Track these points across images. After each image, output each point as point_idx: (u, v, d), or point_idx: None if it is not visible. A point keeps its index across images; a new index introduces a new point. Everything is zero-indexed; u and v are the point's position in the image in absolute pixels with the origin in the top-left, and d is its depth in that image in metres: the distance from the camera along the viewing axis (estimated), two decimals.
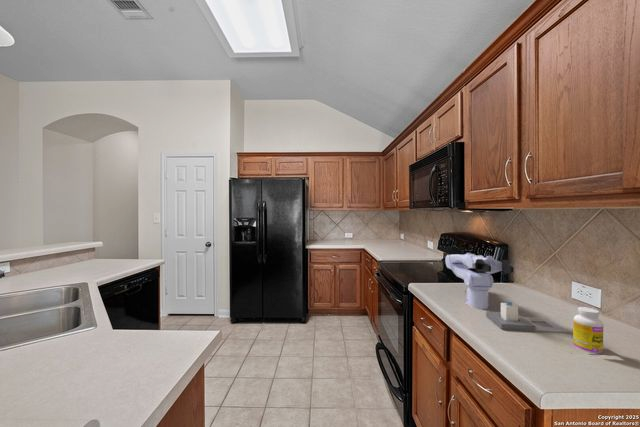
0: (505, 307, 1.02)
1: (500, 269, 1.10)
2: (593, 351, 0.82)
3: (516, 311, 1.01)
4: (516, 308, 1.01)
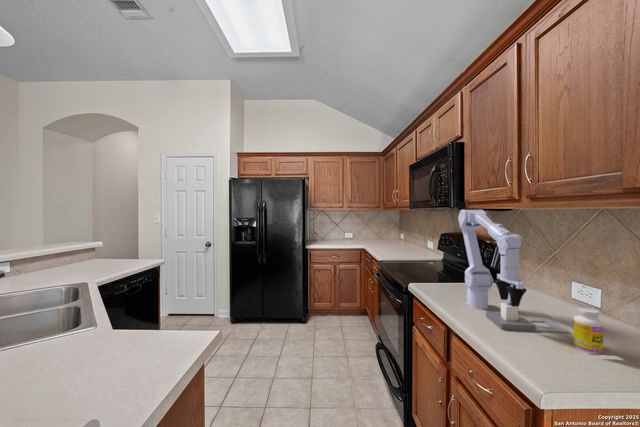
0: (505, 307, 1.02)
1: None
2: (593, 351, 0.82)
3: (516, 311, 1.01)
4: (516, 308, 1.01)
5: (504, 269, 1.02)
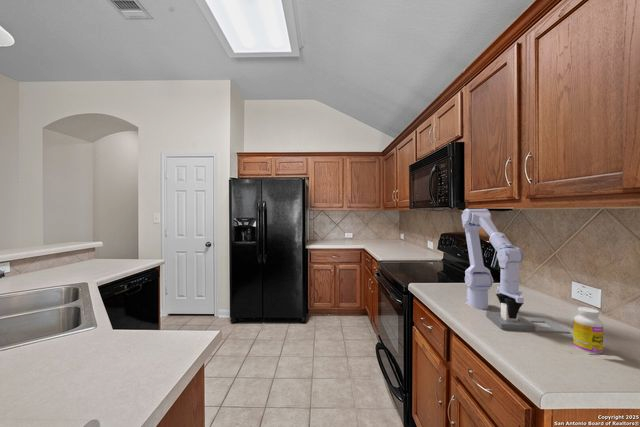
0: (505, 307, 1.02)
1: None
2: (593, 351, 0.82)
3: None
4: None
5: (504, 282, 1.02)
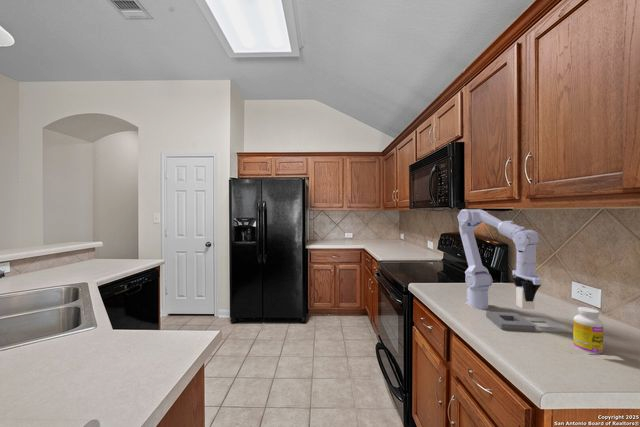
0: (521, 290, 1.01)
1: None
2: (593, 351, 0.82)
3: None
4: None
5: (520, 265, 1.01)
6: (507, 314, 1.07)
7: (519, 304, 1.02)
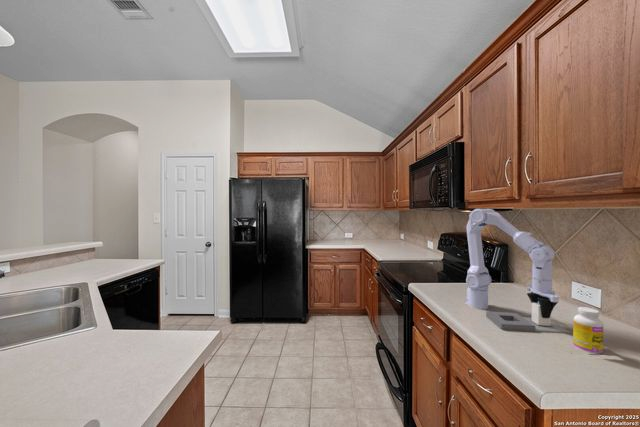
0: (537, 307, 1.00)
1: None
2: (593, 351, 0.82)
3: None
4: None
5: (537, 281, 1.00)
6: (507, 314, 1.07)
7: (535, 320, 1.02)
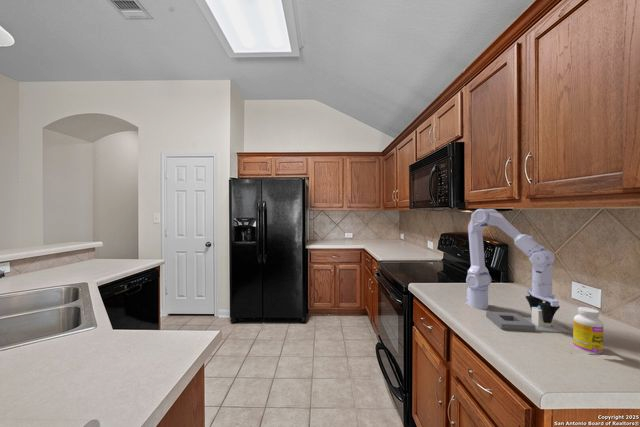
0: (537, 311, 1.00)
1: None
2: (593, 351, 0.82)
3: None
4: None
5: (537, 285, 1.00)
6: (507, 314, 1.07)
7: None
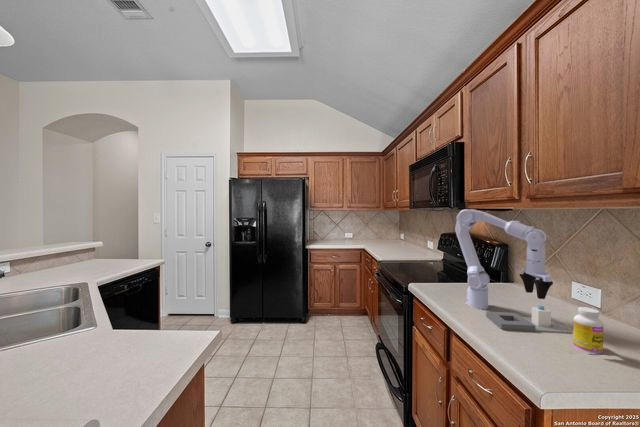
0: (537, 311, 1.00)
1: None
2: (593, 351, 0.82)
3: (549, 315, 0.99)
4: (548, 312, 0.99)
5: (530, 263, 1.06)
6: (507, 314, 1.07)
7: None
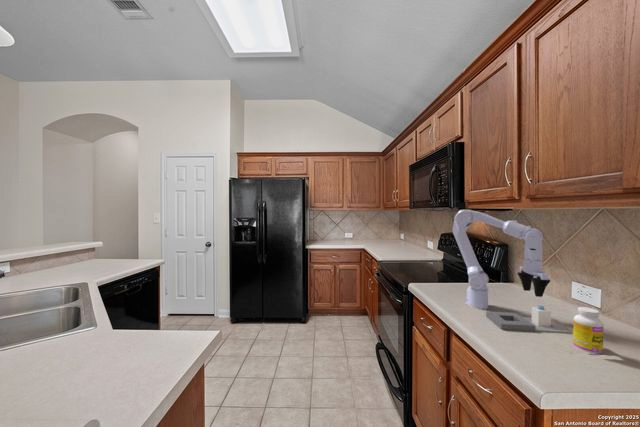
0: (537, 311, 1.00)
1: None
2: (593, 351, 0.82)
3: (549, 315, 0.99)
4: (549, 312, 0.99)
5: (528, 261, 1.08)
6: (507, 314, 1.07)
7: None
